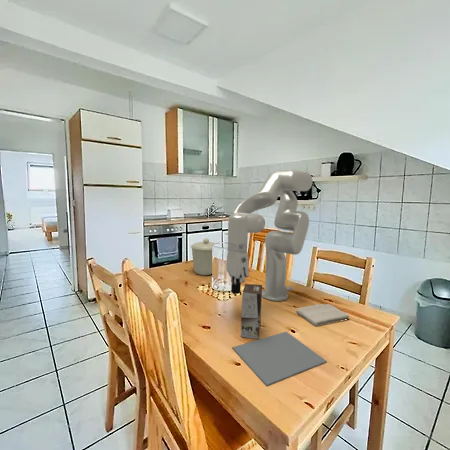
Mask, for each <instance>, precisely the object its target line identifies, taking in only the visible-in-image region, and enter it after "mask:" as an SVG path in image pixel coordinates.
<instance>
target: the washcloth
mask: <svg viewBox="0 0 450 450" xmlns="http://www.w3.org/2000/svg"><path fill="white" fill-rule="evenodd" d="M295 312H296V314H297V315H299V316H300V317H301V318H304V320H306V321H307V322H308V323H310V324H311V325H312V326H314V327H319V326H325V325H330V324H333V322H335V323H337V322H336V321H339V322H342V321H341V320H345V319H348V318H350V316H349V313H346V312H344V311H342V310H341V309H339V308H338V307H336V306H335V305H332V304H330V303H326V304H325V303H324V304H321V303H317V304H313V305H307V306H303V307H299V308H297V309H296V311H295ZM345 321H346V320H345ZM329 323H330V324H329ZM324 324H325V325H324Z"/></svg>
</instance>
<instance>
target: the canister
mask: <svg viewBox="0 0 450 450" xmlns="http://www.w3.org/2000/svg"><path fill="white" fill-rule="evenodd" d="M214 244H218V243H216V242H214V241H213V242H211V241H210V239H209V238H204V239H203V240H202V241H199V242H195V243H192V244H191V245H190V248H191V251H192V263H193V270H194V272H195V273H196V274H197V275H199V276H211V274H212V245H214ZM212 275H213V274H212Z"/></svg>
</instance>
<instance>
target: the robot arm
mask: <svg viewBox="0 0 450 450" xmlns="http://www.w3.org/2000/svg"><path fill="white" fill-rule="evenodd" d="M313 181H314V180H313V176H312V174H310V173H309V172H308V171H300V170H295V169H293V170H292V169H291V170H289V169H287V170H274V171H272V172H270V174H268V176H267V178H266V179H265V181H264V182H263V183H262V185H261V187H260V188H259V189H258V191H257V192H256V193H254V194H252V195H251V196H249V197H247V198H245V199H244V200H242V201H241V202H240V203H239V204H238V206H237V207H236V209H235V210H234V211H233V213H232V214H231V215H229V216H228V220H227V221H228V223H227V226H228V227H227V249H226V250H227V255H226V263H225V264H226V272H227V273H228V275H229V276H230V282H231V288H230V293H231V294H233V295H237V294H241V286H242V285H241V284H243V283H245V282H246V279H245V278H249V274H250V273H249V271H250V270H249V269H250V268H249V267H250V265H249V261H250V260H249V255H248V254H249V253H248V239H249V238H248V236H249V234H251V233H252V234H257V233H260V232H262V231H263V230H264V228H265V227H266V219H265V218H264V217H263V215H261V214H259V213H254V212H255V211H258V210H262V209H266V208H268V207H272V206H273V205H275V203H276V201H277V200H278V198H280V200H279V203H278V206H277V211H276V214H275V217H274V221H273V223H274V226H275V228H277V229H279V230H270V231H269V232H268V233H267V234H266V235H265V237H264V244H265V251H266V252H265V253H266V258H265V259H266V260H265V278H264V279H265V280H264V290H263V289H262V298H264V299H265V300H268V301H272V302H282V301H286V300H288V298H289V294H288V292H290V291H293V289H294V288H293V287H292V286H287V285H286V279H287V261H288V260H287V257H286V255H285V254H289V255H293V256H295V255H300V253H301V252H302V250H303V248H304V245H305V240H306V237H307V233H308V230H309V226H310V218H309V215H308V213H306V211H301V210H297V209H298V205H299V201H298V199H297V197H296V195H295V193H294V191H295V192H308V191H309V190H310V189H311V188H312V185H313ZM281 230H282V231H281ZM288 231H291V232H288Z"/></svg>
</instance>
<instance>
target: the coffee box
mask: <svg viewBox="0 0 450 450" xmlns="http://www.w3.org/2000/svg"><path fill="white" fill-rule="evenodd" d="M262 291H263V285H261V284H255V283H254V284H253V283H251V284H249V283H245V285H244V286H243V289H242V296H241V298H242V301H241V323H240V337H241V338H248V339H252V340H253V339H254V340H259V338H260V331H261V317H262V298H263V297H262Z"/></svg>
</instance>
